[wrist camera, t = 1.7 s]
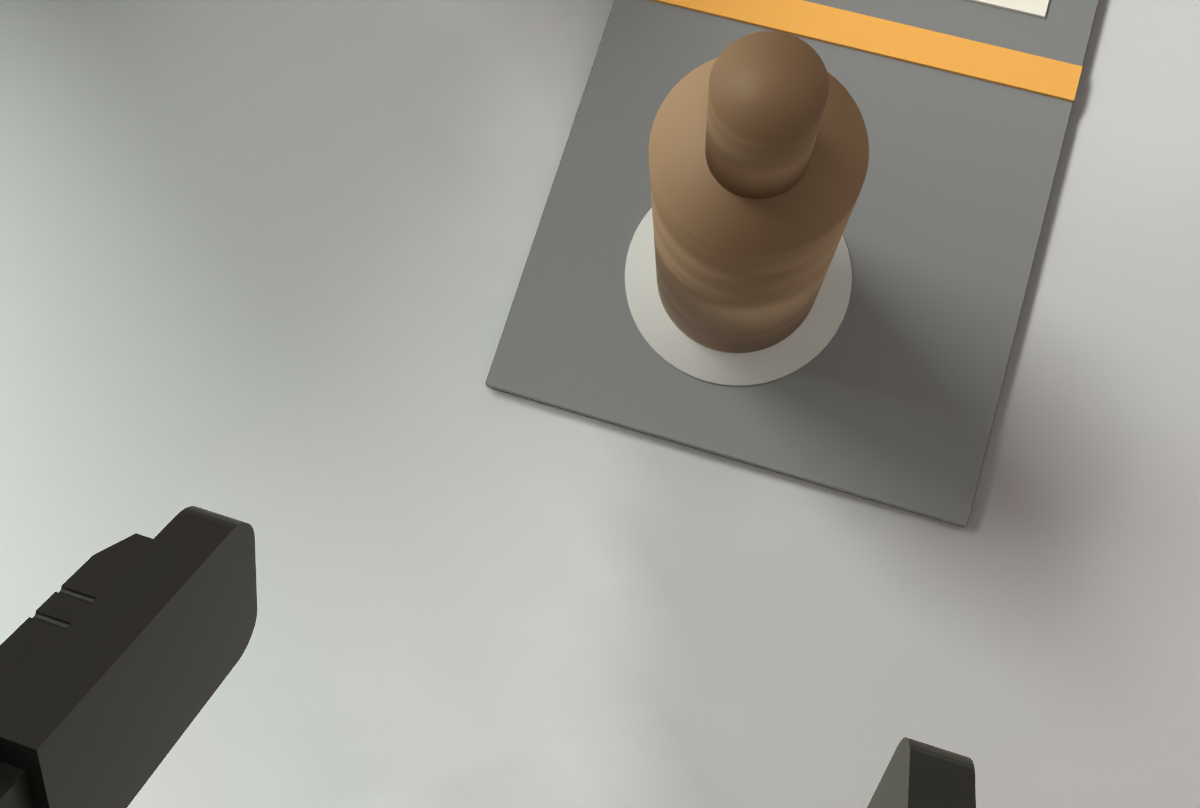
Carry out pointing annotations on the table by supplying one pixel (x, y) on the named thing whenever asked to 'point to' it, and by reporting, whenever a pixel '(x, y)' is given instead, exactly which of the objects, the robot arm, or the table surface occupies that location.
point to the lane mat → (861, 261)
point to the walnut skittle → (752, 190)
